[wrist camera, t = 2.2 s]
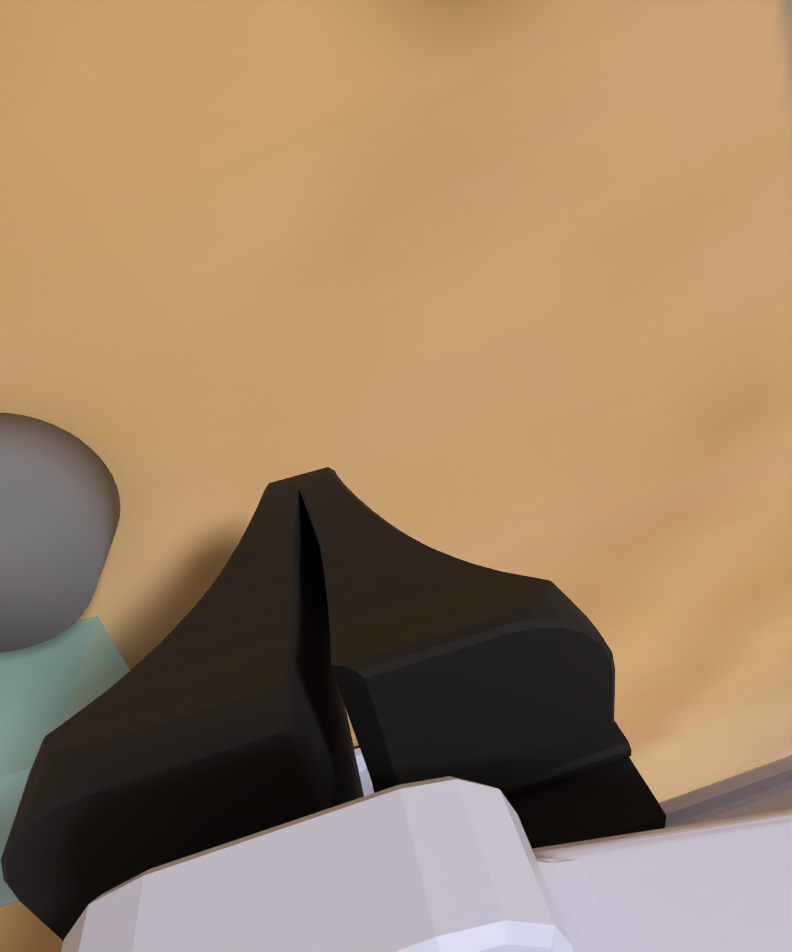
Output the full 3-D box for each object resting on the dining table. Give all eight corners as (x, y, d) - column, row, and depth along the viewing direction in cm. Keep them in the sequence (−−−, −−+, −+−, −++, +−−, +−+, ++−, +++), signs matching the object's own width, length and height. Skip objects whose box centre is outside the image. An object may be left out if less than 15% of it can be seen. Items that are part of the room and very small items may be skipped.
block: (155, 710, 20) (130, 863, 15) (20, 752, 19) (-45, 922, 15) (97, 614, 17) (49, 762, 13) (-58, 659, 17) (-162, 827, 13)
